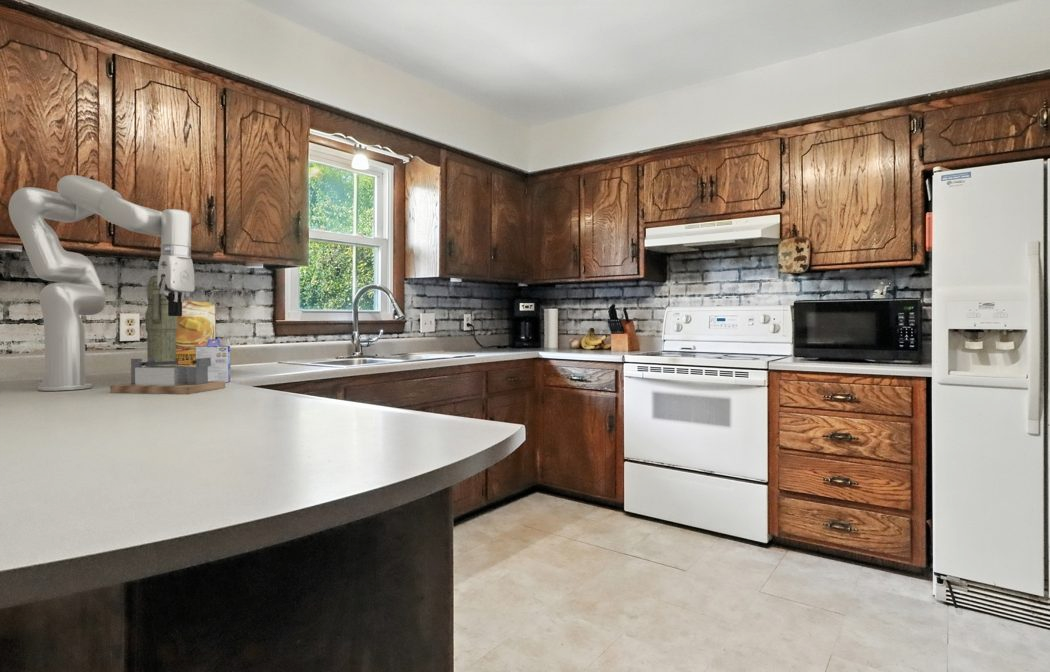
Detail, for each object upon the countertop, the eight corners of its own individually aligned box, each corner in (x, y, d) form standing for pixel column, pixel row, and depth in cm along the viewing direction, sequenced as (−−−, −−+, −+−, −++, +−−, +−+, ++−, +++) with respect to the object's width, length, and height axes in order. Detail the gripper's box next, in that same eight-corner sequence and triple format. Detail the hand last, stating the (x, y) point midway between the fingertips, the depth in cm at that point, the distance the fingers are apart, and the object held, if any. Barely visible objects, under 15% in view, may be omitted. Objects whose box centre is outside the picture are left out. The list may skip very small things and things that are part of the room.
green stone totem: (142, 385, 185) (141, 274, 184) (149, 382, 196) (148, 277, 195) (174, 384, 188) (173, 275, 188) (180, 381, 199) (179, 278, 198)
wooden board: (110, 392, 165) (110, 385, 165) (153, 386, 181) (152, 380, 181) (188, 394, 162) (188, 386, 162) (225, 388, 178) (225, 381, 178)
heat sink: (135, 385, 167) (135, 367, 167) (166, 381, 179) (165, 364, 178) (174, 385, 165) (173, 368, 165) (202, 381, 177) (202, 365, 177)
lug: (188, 384, 168) (188, 358, 168) (200, 383, 173) (200, 357, 173) (199, 384, 168) (199, 358, 168) (210, 383, 173) (210, 357, 173)
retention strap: (133, 366, 170) (133, 362, 170) (149, 365, 176) (149, 361, 176) (191, 363, 168) (190, 360, 168) (205, 362, 174) (204, 358, 174)
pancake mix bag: (154, 380, 204) (154, 299, 204) (216, 377, 213) (216, 300, 213) (153, 381, 198) (152, 298, 198) (217, 379, 208) (216, 299, 207)
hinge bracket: (131, 384, 169) (131, 358, 169) (150, 381, 177) (150, 357, 176) (138, 384, 169) (138, 358, 169) (158, 382, 176) (157, 357, 176)
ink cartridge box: (231, 381, 200) (230, 338, 200) (229, 382, 195) (228, 339, 195) (198, 382, 197) (198, 339, 197) (195, 383, 192) (195, 339, 192)
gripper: (169, 249, 163) (168, 316, 163) (205, 256, 178) (204, 316, 178) (144, 249, 164) (143, 315, 164) (182, 255, 179) (181, 316, 179)
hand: (175, 315), depth 171 cm, fingers closed
